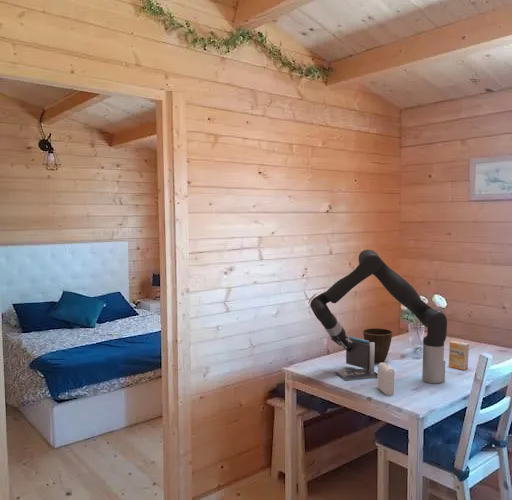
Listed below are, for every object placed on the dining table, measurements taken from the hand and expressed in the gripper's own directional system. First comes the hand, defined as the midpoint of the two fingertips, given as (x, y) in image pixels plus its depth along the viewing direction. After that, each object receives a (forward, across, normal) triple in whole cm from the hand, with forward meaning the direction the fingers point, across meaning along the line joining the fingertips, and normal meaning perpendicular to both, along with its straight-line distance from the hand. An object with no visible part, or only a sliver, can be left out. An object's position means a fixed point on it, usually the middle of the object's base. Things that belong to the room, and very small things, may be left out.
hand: (349, 350), depth 255 cm
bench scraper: (+8, -5, +4) cm, 10 cm away
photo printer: (-1, -30, +16) cm, 33 cm away
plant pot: (+22, -1, -9) cm, 24 cm away
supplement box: (+37, -35, -25) cm, 57 cm away
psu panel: (+4, -8, +10) cm, 14 cm away
